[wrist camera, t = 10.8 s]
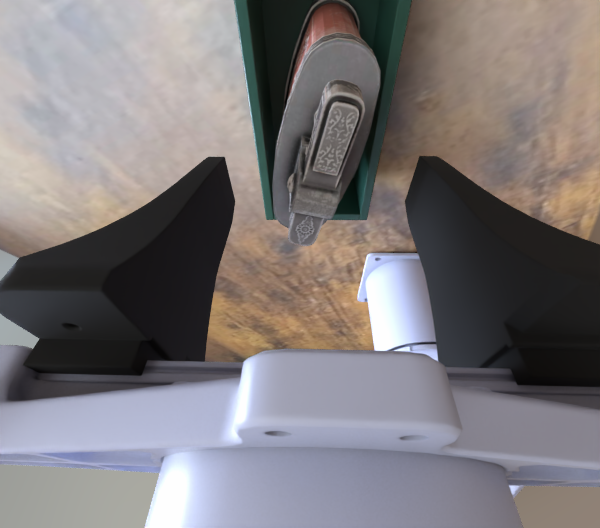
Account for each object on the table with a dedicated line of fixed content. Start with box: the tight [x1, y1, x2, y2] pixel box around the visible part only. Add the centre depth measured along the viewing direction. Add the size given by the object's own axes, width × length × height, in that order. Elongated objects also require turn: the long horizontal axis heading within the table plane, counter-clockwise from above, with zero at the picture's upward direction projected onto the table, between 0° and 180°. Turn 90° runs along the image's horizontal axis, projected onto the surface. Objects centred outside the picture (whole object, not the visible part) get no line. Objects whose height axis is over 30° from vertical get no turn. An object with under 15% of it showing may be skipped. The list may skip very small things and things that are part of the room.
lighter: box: [272, 0, 381, 246], centre depth 13 cm, size 8×3×10 cm, turn 167°
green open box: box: [234, 0, 412, 220], centre depth 15 cm, size 6×12×4 cm, turn 1°
